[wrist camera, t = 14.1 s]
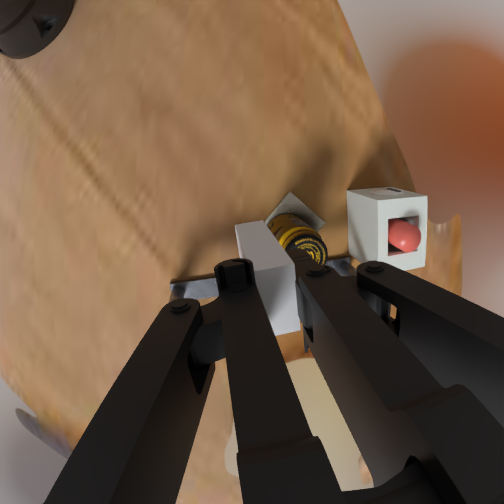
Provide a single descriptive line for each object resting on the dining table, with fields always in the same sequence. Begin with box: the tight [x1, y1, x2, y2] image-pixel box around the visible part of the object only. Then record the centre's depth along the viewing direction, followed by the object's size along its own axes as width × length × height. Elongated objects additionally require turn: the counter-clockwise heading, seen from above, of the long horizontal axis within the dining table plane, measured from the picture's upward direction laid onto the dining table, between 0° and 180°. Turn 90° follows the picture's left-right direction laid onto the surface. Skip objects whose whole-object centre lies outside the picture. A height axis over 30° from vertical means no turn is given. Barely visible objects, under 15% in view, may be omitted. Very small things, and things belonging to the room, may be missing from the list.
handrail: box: [169, 256, 357, 303], centre depth 45 cm, size 28×3×10 cm, turn 96°
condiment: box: [264, 192, 328, 265], centre depth 42 cm, size 7×8×12 cm
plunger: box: [388, 218, 421, 252], centre depth 42 cm, size 4×4×9 cm
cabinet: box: [346, 187, 427, 271], centre depth 44 cm, size 11×8×10 cm
